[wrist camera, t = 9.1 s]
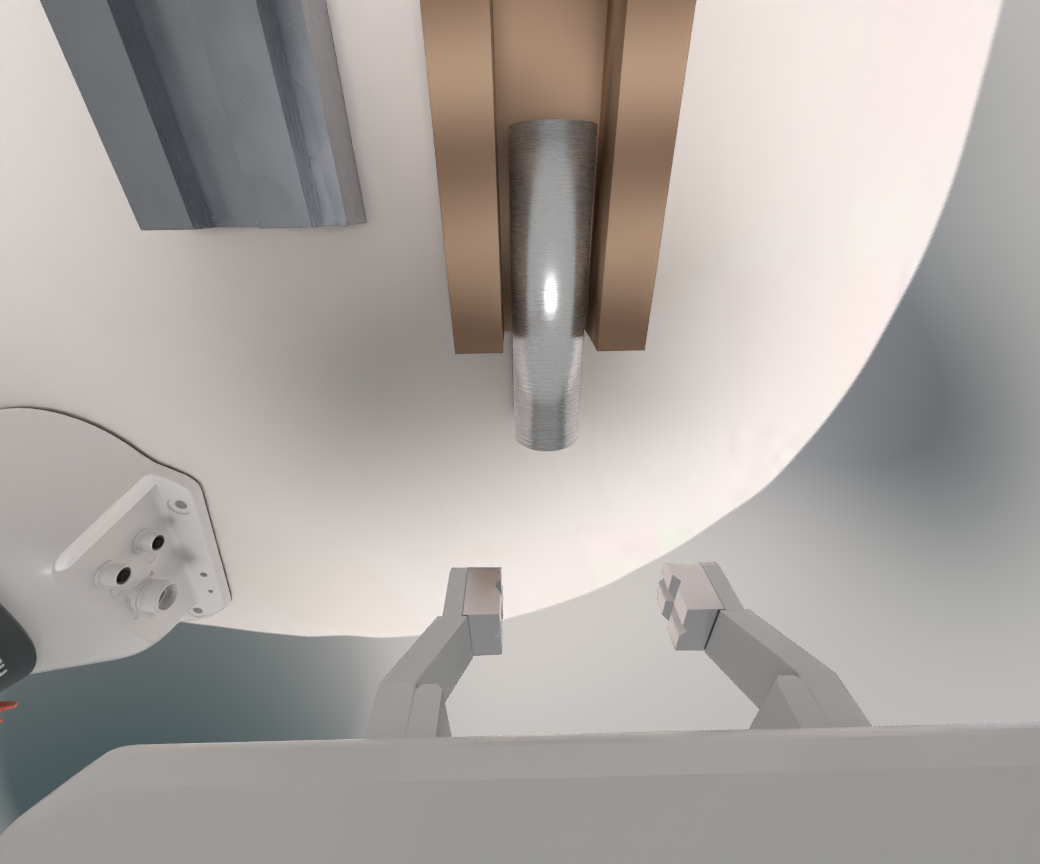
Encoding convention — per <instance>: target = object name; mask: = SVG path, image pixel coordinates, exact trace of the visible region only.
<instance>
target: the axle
mask: <svg viewBox="0 0 1040 864" xmlns="http://www.w3.org/2000/svg"><path fill="white" fill-rule="evenodd" d="M597 128H598V124H597V123H594V122H591V121H585V120H573V119H547V120H533V121H525V122H520V123H515V124H512V125H510V126H508V157H509V200H510V243H511V287H512V330H513V373H514V416H515V438H516V440H517V441H518V442H519V443H520V444H521V445H523V446H525V447H527V448H530V449H533V450H538V451H555V450H560V449H564V448H566V447H568V446H570V445H572V444H573V443H574V442H575V440H576V438H577V424H578V409H579V395H580V380H581V365H582V350H583V335H584V320H585V306H586V291H587V276H588V261H589V246H590V231H591V217H592V202H593V187H594V172H595V157H596V143H597Z"/></svg>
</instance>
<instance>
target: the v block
mask: <svg viewBox="0 0 1040 864" xmlns="http://www.w3.org/2000/svg"><path fill="white" fill-rule="evenodd" d="M40 1H41V4H42V6H43V8H44V10H45V13H46V15H47V17H48V20H49V22H50V24H51V26H52V29H53V31H54V33H55V35H56V38H57V40H58V42H59V45H60V47H61V49H62V51H63V54H64V56H65V58H66V61H67V63H68V65H69V67H70V70H71V72H72V74H73V76H74V79H75V81H76V83H77V86H78V88H79V90H80V92H81V95H82V97H83V99H84V101H85V104H86V106H87V108H88V111H89V113H90V115H91V117H92V120H93V122H94V124H95V126H96V129H97V131H98V133H99V136H100V138H101V140H102V142H103V145H104V147H105V149H106V151H107V154H108V156H109V158H110V161H111V163H112V165H113V167H114V170H115V172H116V174H117V177H118V179H119V181H120V183H121V186H122V188H123V190H124V192H125V195H126V197H127V199H128V202H129V204H130V206H131V208H132V211H133V213H134V215H135V217H136V220H137V222H138V224H139V227H140V229H141V230H188V229H203V228H214V227H259V228H306V227H318V226H328V225H351V224H358V223H364V222H366V218H365V212H364V207H363V202H362V196H361V191H360V185H359V180H358V174H357V169H356V164H355V158H354V153H353V147H352V142H351V136H350V131H349V126H348V120H347V115H346V109H345V104H344V98H343V93H342V88H341V82H340V77H339V71H338V66H337V60H336V55H335V50H334V44H333V39H332V33H331V28H330V22H329V17H328V12H327V6H326V1H325V0H40Z"/></svg>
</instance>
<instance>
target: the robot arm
mask: <svg viewBox="0 0 1040 864" xmlns="http://www.w3.org/2000/svg"><path fill="white" fill-rule="evenodd" d="M661 573H662V575H663V579H662V580H661V581H659V583H658V588H657V596H658V603H659V607H660V610H661V613H662V615H663V616H664V617H665V618H667V619H668V620H669V623H668V627H667V629H668V632H669V635H670V638H671V640H672V643H673V645H674V649H675V650H705V653H706V654H707V655H708V656H709V657H710V658H711V659H712V660H713V661H714V662H715V663H716V664H717V665H718V667H720V669H721V670H722V671H723V672H724V673H725V674H726V675H727V676H728V677H729V678H730V679H731V680H732V681H733V682H734V683H735V684H736V685H737V686H738V687H739V689H740V690H742V692H743V693H744V694H745V695H746V696H747V697H748V698H749V699H750V700H751V701H752V702H753V703H754V704H755V705H756V706H757V707H758V708H759V709H760V710H759V712H758V713H757V715H756V717H755V719H754V721H753V722H752V724H751V726H750V728H749V729H748V730H747V729H746V730H710V731H709V730H706V731H671V732H670V731H666V732H630V733H629V732H625V733H587V734H549V735H513V736H512V735H511V736H472V737H471V736H470V737H452V736H451V731H450V726H449V721H448V716H447V711H446V706H445V702H446V700H447V698H448V697H449V695H450V693H451V692H452V690H453V689H454V687H455V685H456V684H457V682H458V681H459V679H460V677H461V676H462V674H463V673H464V671H465V669H466V668H467V666H468V665H469V663H470V661H471V660H472V658H473V656H480V655H499V654H502V634H503V633H502V632H503V631H502V619H503V585H502V568H501V567H465V568H452V569H451V571H450V575H449V581H448V587H447V593H446V599H445V605H444V610H443V616H439V617H437V618H436V619H435V620H434V621H433V622H432V624H431V625H430V626H429V627H428V628H427V629H426V630H425V632H424V633H423V634H422V635H421V636H420V637H419V638H418V640H417V641H416V642H415V643H414V644H413V645H412V646H411V648H410V649H409V650H408V651H407V652H406V653H405V655H404V656H403V657H402V658H401V659H400V661H398V663H397V664H396V665H395V666H394V667H393V668H392V670H391V671H390V672H389V673H388V674H387V675H386V676H385V678H384V679H383V680H382V681H381V682H380V683H379V686H378V690H377V694H376V697H375V701H374V704H373V708H372V712H371V715H370V718H369V722H368V726H367V729H366V733H365V736H364V739H351V740H312V741H311V740H310V741H268V742H228V743H188V744H147V745H131V746H123V747H119V748H117V749H114V750H111V751H110V752H107V753H106V754H104V755H103V756H101V757H100V758H99V759H97V760H96V761H94V762H93V763H91V764H90V765H88V766H87V767H86V768H84V769H83V770H81V771H80V772H79V773H77V774H76V775H75V776H73V777H72V778H70V779H69V780H68V781H66V782H65V783H64V784H62V785H61V786H60V787H58V788H57V789H56V790H54V791H53V792H51V793H50V794H49V795H47V796H46V797H45V798H44V799H42V800H41V801H39V802H38V803H37V804H36V805H34V806H33V807H32V808H31V809H29V810H28V811H27V812H25V813H24V814H23V815H22V816H20V817H19V818H18V819H17V820H16V821H15V822H14V823H12V824H11V825H10V826H9V827H8V828H7V829H6V830H5V831H4V832H3V833H2V835H1V836H0V864H1040V722H1025V723H1024V722H1022V723H986V724H947V725H908V726H872V725H871V724H870V723H869V721H868V720H867V718H866V717H865V715H864V714H863V712H862V711H861V710H860V708H859V706H858V705H857V703H856V702H855V701H854V699H853V698H852V696H851V695H850V693H849V692H848V690H847V689H846V687H845V686H844V684H843V683H842V681H841V680H840V679H839V677H838V676H837V674H836V673H835V672H833V671H832V670H831V669H830V668H828V667H827V666H825V665H824V664H823V663H821V662H820V661H819V660H817V659H816V658H815V657H813V656H812V655H811V654H809V653H808V652H806V651H805V650H804V649H802V648H801V647H799V646H798V645H797V644H796V643H794V642H793V641H791V640H790V639H789V638H787V637H786V636H785V635H783V634H782V633H781V632H779V631H778V630H777V629H775V628H774V627H773V626H771V625H770V624H768V623H767V622H766V621H764V620H763V619H762V618H760V617H759V616H758V615H756V614H755V613H754V612H752V611H751V610H747V609H744V608H743V606H742V605H741V603H740V601H739V599H738V597H737V596H736V594H735V592H734V591H733V589H732V587H731V585H730V584H729V582H728V580H727V578H726V577H725V575H724V573H723V571H722V570H721V568H720V566H719V565H718V564H717V563H716V562H699V563H697V562H690V563H665V564H664V565H663V567H662V571H661ZM230 601H231V596H230V592H229V588H228V584H227V581H226V577H225V573H224V570H223V566H222V563H221V559H220V555H219V552H218V548H217V544H216V541H215V537H214V533H213V530H212V526H211V522H210V519H209V515H208V511H207V508H206V504H205V501H204V497H203V493H202V490H201V487H200V486H199V484H198V483H197V482H196V481H195V480H193V479H192V478H190V477H188V476H186V475H184V474H182V473H180V472H177V471H175V470H172V469H170V468H167V467H165V466H162V465H159V464H157V463H155V462H153V461H151V460H150V459H148V458H147V457H145V456H143V455H142V454H141V453H139V452H138V451H136V450H135V449H133V448H132V447H131V446H129V445H128V444H126V443H125V442H123V441H121V440H120V439H118V438H116V437H115V436H113V435H111V434H109V433H108V432H106V431H104V430H102V429H100V428H98V427H95V426H93V425H91V424H88V423H86V422H84V421H81V420H78V419H76V418H72V417H69V416H66V415H63V414H59V413H55V412H50V411H45V410H39V409H30V408H8V409H0V692H2V691H3V690H5V689H6V688H8V687H10V686H11V685H13V684H15V683H16V682H18V681H20V680H21V679H23V678H24V677H26V676H28V675H29V674H33V673H39V672H45V671H51V670H56V669H62V668H69V667H74V666H80V665H86V664H92V663H98V662H104V661H109V660H116V659H120V658H124V657H128V656H131V655H134V654H137V653H139V652H141V651H143V650H145V649H147V648H149V647H151V646H152V645H153V644H155V643H156V642H158V641H159V640H160V639H162V638H163V637H164V636H165V635H166V634H167V633H168V632H169V631H170V630H171V629H172V628H173V627H174V626H175V625H176V624H177V623H178V622H182V621H190V620H196V619H200V618H204V617H208V616H210V615H213V614H215V613H217V612H219V611H221V610H222V609H224V608H225V607H226V606H227V604H228V603H229V602H230ZM16 706H17V702H13V701H6V702H0V712H1V711H4V710H8V709H11V708H14V707H16ZM1 721H2V719H1V718H0V722H1Z"/></svg>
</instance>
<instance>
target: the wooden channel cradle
mask: <svg viewBox="0 0 1040 864" xmlns="http://www.w3.org/2000/svg"><path fill="white" fill-rule="evenodd" d="M420 5H421V15H422V25H423V35H424V45H425V55H426V65H427V75H428V85H429V95H430V105H431V115H432V125H433V135H434V145H435V155H436V166H437V176H438V186H439V196H440V206H441V216H442V226H443V236H444V246H445V256H446V266H447V276H448V286H449V296H450V306H451V316H452V326H453V336H454V346H455V354H470V353H503V340H504V331H513V330H512V287H511V243H510V200H509V157H508V126H510V125H512V124H515V123H520V122H525V121H533V120H547V119H573V120H585V121H591V122H594V123H597V124H598V128H597V143H596V157H595V172H594V187H593V202H592V217H591V231H590V246H589V261H588V276H587V291H586V306H585V320H584V330H586V332H587V333H588V335H589V337H590V339H591V341H592V342H593V344H594V346H595V348H596V349H597V351H625V350H645V344H646V337H647V330H648V324H649V317H650V310H651V303H652V296H653V290H654V283H655V276H656V269H657V263H658V256H659V249H660V242H661V235H662V229H663V222H664V215H665V208H666V202H667V195H668V188H669V181H670V174H671V168H672V161H673V154H674V147H675V141H676V134H677V127H678V120H679V113H680V107H681V100H682V93H683V86H684V80H685V73H686V66H687V59H688V53H689V46H690V39H691V32H692V25H693V19H694V12H695V5H696V0H420Z"/></svg>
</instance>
